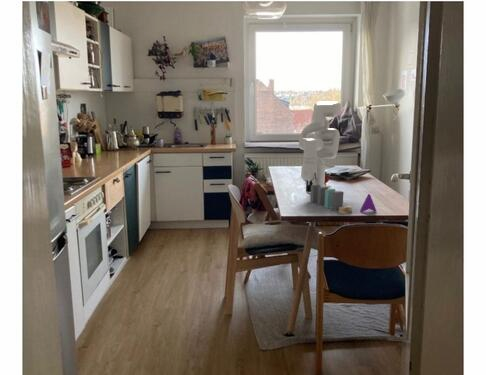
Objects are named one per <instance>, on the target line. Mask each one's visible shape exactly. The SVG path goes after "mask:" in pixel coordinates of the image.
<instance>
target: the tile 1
mask: <svg viewBox="0 0 486 375" xmlns="http://www.w3.org/2000/svg"><path fill="white" fill-rule="evenodd" d="M318 187H321V185H311V194H310V199H309V202H310V203H311V204H317V199H318Z"/></svg>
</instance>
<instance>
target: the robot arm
mask: <svg viewBox="0 0 486 375" xmlns="http://www.w3.org/2000/svg"><path fill="white" fill-rule="evenodd" d="M341 111H342V105H341V103H340V102H339V101H317V102H315V103H314V105H313V111H312V115H311V120H310V123H309V124H307V125H306V126H305V127H304V128H303V129H302V130H301V132H300V136H299V139H298V148H299V149H300V150H303V162H302V164H301V173H300V178H301V179H302V180H303V181H304V182H305V192H306V193H308V194H310V195H311V185H321V187H328V189H331V186H330V185H326V184H325V182H326V181H325V179H326V178H325V176H326V163H325V162H324V160H323V159H333V160H334V159H335V158H337V155H338V152H339V144H340V138H341V137H340V136H341V135H340V131H339V129H337V128H330V125H331V123H330V121H329V120H328V118H336V117H338V116H339V115H340V114H341ZM313 133H314V134H313ZM311 134H313V137H308V136H309V135H311Z"/></svg>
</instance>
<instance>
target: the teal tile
mask: <svg viewBox="0 0 486 375" xmlns="http://www.w3.org/2000/svg"><path fill="white" fill-rule="evenodd" d="M335 191H337V190H336V189H335V188H329V189H326V190H325V205H324V208H325V207H326V208H325V209H332V208H331V207H332V203H333V192H335Z"/></svg>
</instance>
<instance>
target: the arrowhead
mask: <svg viewBox="0 0 486 375" xmlns="http://www.w3.org/2000/svg"><path fill="white" fill-rule="evenodd" d="M367 210H371V211H373V212H375V213H376V212H378V211H377V209H376V206H375V203H374V200H373V198H372V195H371V194H370V193H367V196H366V198H365V199H364V201H363V204H362V206H361V208H360V210H359V212H360V213H363V212H366V211H367Z"/></svg>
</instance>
